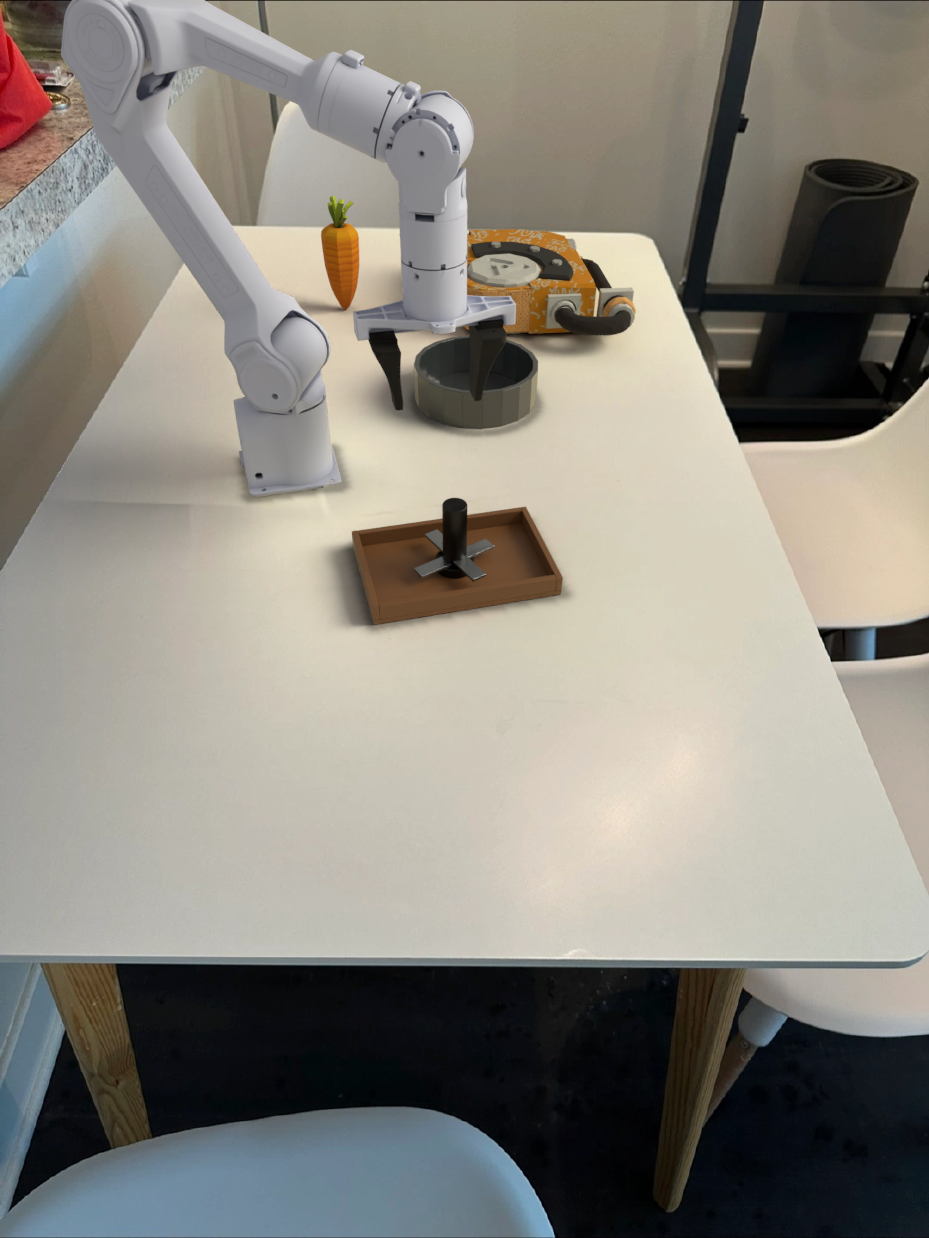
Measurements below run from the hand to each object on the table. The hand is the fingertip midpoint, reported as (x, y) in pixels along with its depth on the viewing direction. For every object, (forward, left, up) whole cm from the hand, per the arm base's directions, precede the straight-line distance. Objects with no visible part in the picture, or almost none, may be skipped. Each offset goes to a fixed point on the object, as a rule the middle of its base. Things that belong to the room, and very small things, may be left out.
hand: (436, 400), depth 88 cm
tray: (-2, -13, -10) cm, 17 cm away
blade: (-1, -13, -10) cm, 16 cm away
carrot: (-3, +46, -11) cm, 47 cm away
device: (+22, +39, -11) cm, 46 cm away
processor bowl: (+8, +17, -10) cm, 22 cm away
